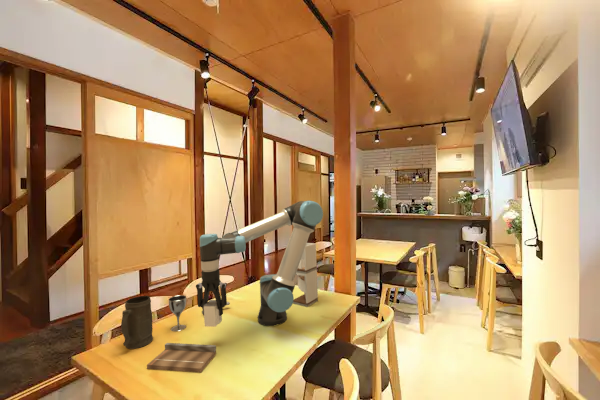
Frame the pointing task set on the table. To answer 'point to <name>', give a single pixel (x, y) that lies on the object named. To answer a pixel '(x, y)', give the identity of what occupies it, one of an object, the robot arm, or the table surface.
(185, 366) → the board
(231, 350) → the table surface
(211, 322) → the block
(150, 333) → the beer stein
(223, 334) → the table surface
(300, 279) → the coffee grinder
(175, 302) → the wine glass
